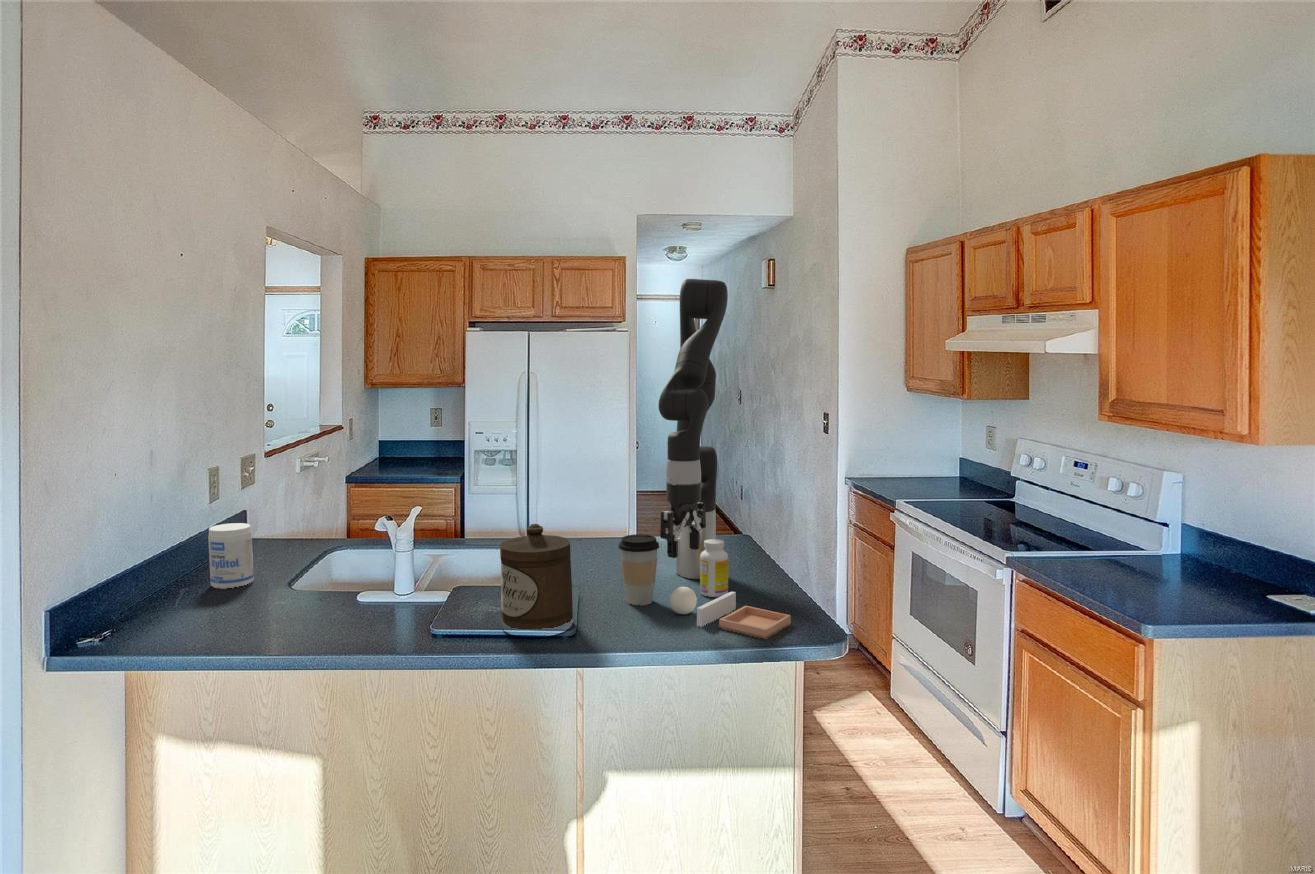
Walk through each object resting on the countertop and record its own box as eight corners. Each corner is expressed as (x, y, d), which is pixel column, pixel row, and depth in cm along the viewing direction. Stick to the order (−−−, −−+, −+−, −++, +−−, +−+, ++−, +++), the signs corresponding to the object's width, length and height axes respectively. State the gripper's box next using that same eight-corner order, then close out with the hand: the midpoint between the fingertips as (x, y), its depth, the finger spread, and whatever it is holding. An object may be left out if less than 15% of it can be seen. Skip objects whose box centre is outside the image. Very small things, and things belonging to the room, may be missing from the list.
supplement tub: (208, 592, 197) (204, 532, 195) (213, 581, 205) (209, 524, 204) (253, 587, 200) (249, 528, 199) (255, 577, 209) (252, 521, 207)
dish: (719, 628, 170) (719, 619, 170) (745, 614, 179) (745, 605, 179) (765, 639, 164) (765, 630, 163) (790, 624, 172) (790, 615, 172)
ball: (664, 614, 179) (664, 588, 178) (679, 607, 184) (679, 581, 183) (686, 620, 175) (686, 593, 175) (701, 612, 180) (702, 586, 180)
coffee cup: (666, 598, 190) (666, 535, 189) (648, 610, 182) (648, 545, 180) (630, 593, 194) (629, 531, 192) (611, 604, 186) (610, 540, 184)
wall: (696, 626, 172) (696, 608, 171) (731, 608, 183) (731, 591, 182) (701, 627, 171) (701, 609, 170) (735, 609, 182) (735, 592, 182)
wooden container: (490, 624, 173) (487, 523, 171) (550, 610, 182) (548, 514, 180) (523, 644, 162) (520, 536, 159) (586, 628, 171) (584, 526, 168)
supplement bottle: (731, 591, 196) (731, 539, 194) (724, 599, 189) (724, 545, 188) (704, 588, 198) (704, 536, 196) (696, 596, 192) (696, 543, 190)
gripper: (687, 474, 184) (687, 544, 186) (650, 483, 173) (650, 557, 174) (715, 477, 180) (715, 549, 181) (679, 486, 168) (679, 562, 170)
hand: (683, 553), depth 178 cm, fingers open, 8 cm apart
